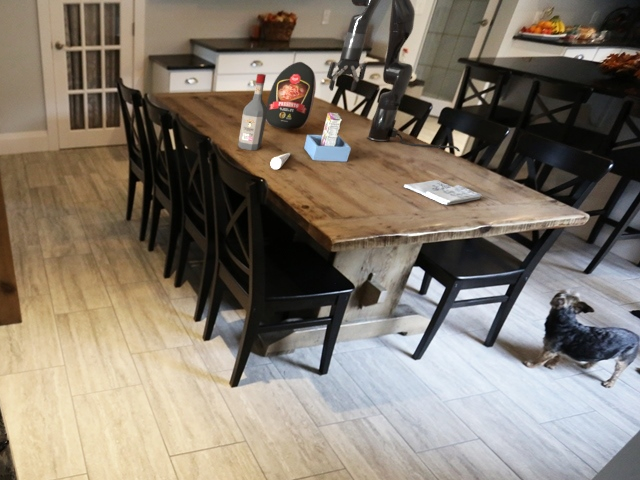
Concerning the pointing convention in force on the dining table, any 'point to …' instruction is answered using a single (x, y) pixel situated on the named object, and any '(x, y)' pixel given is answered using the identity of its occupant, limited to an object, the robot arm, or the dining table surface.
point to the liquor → (254, 119)
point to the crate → (327, 149)
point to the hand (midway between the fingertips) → (341, 90)
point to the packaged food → (291, 97)
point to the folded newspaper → (444, 192)
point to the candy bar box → (331, 129)
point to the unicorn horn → (279, 161)
